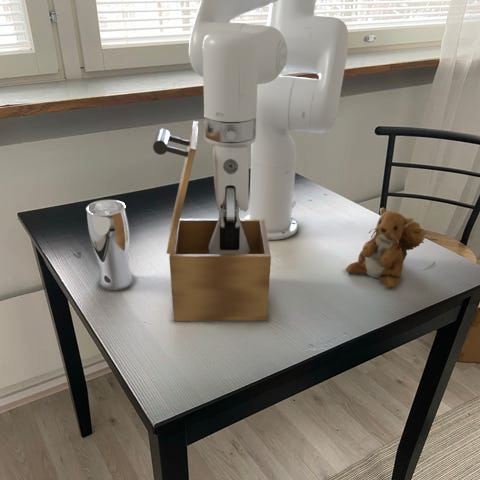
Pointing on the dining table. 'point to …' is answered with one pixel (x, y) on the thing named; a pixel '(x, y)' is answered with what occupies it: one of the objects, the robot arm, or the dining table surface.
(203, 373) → the dining table surface
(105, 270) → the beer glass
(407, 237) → the stuffed squirrel
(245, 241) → the flask
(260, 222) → the chest
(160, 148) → the lid
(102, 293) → the dining table surface
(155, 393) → the dining table surface
